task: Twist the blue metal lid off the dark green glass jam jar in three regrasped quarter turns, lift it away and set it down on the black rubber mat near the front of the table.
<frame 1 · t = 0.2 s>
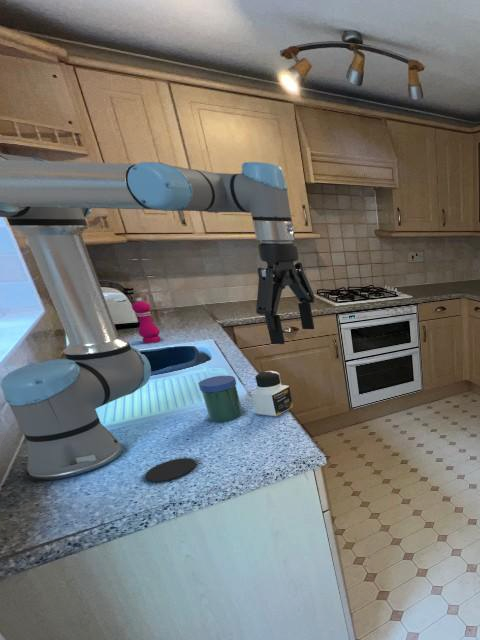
hand: (294, 335, 97), 28 cm above the kitchen counter, tool pointing down, fingers open, 13 cm apart
jam jar: (226, 415, 118), on the kitchen counter
jam lid: (217, 382, 114), point 11 cm above the kitchen counter, screwed on, not yet turned
pepper mill: (152, 341, 186), on the kitchen counter
rubber mat: (171, 470, 92), on the kitchen counter
medicine bottle: (275, 411, 121), on the kitchen counter
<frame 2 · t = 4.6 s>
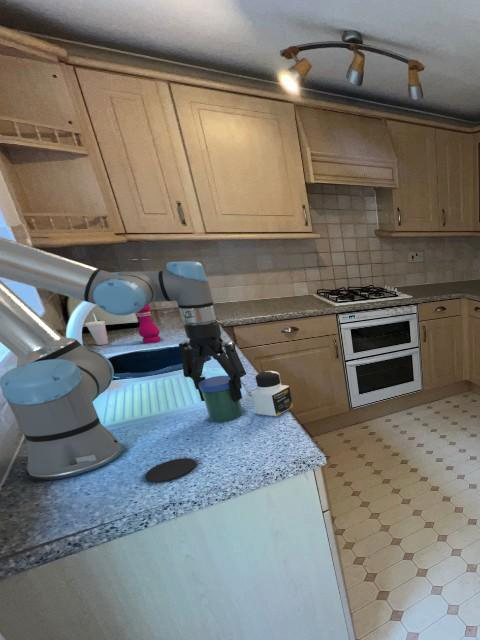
hand: (222, 399, 116), 5 cm above the kitchen counter, tool pointing down, fingers closed on jam lid, 8 cm apart
jam lid: (217, 382, 114), point 11 cm above the kitchen counter, screwed on, not yet turned, touching gripper
everything else where it was.
when the fingers open (5 cm above the kitchen counter, at t = 7.2 s): jam lid stays where it is, point 11 cm above the kitchen counter.
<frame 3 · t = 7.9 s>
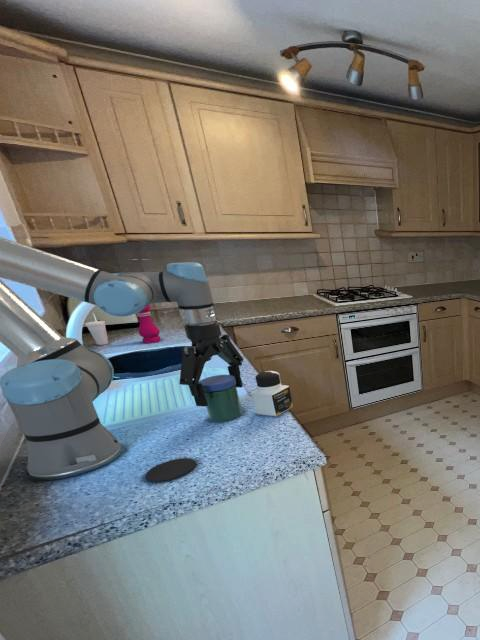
hand: (221, 395, 115), 6 cm above the kitchen counter, tool pointing down, fingers open, 13 cm apart
jam lid: (217, 381, 114), point 11 cm above the kitchen counter, turned 90° so far, risen 0.2 cm, still on its thread
everything else where it was.
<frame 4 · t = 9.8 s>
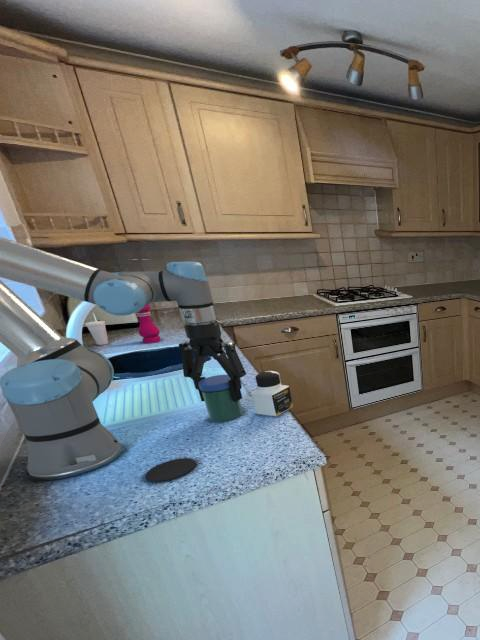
hand: (222, 399, 116), 5 cm above the kitchen counter, tool pointing down, fingers closed on jam lid, 8 cm apart
jam lid: (217, 381, 114), point 11 cm above the kitchen counter, turned 90° so far, risen 0.2 cm, still on its thread, touching gripper
everything else where it was.
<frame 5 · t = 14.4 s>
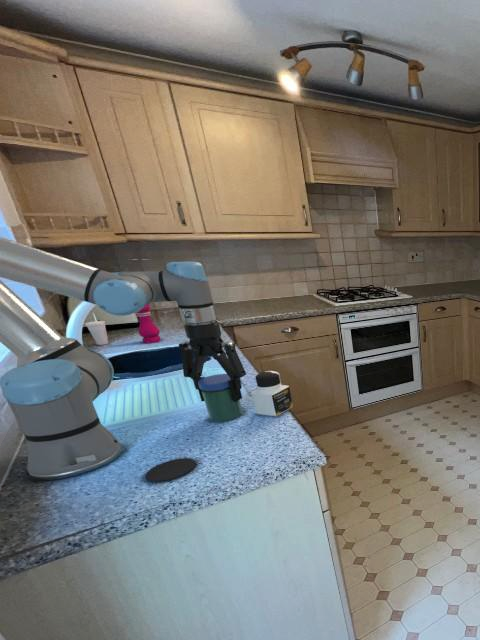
hand: (222, 399, 116), 5 cm above the kitchen counter, tool pointing down, fingers closed on jam lid, 8 cm apart
jam lid: (216, 380, 113), point 11 cm above the kitchen counter, turned 180° so far, risen 0.5 cm, still on its thread, touching gripper
everything else where it was.
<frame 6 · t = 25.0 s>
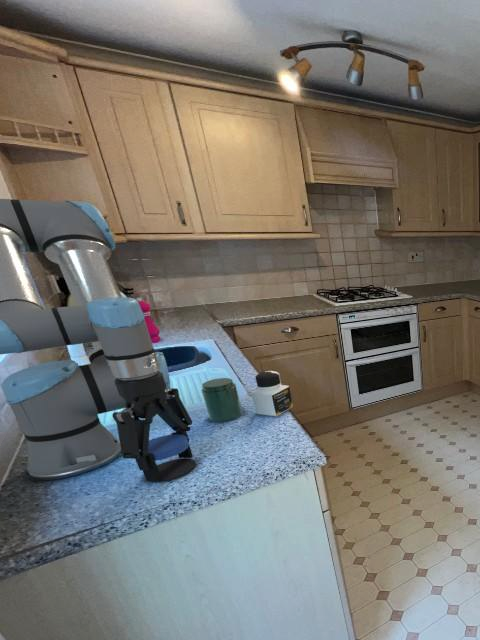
hand: (170, 468, 91), 1 cm above the kitchen counter, tool pointing down, fingers closed on jam lid, 8 cm apart
jam lid: (163, 445, 89), point 7 cm above the kitchen counter, off its thread, touching gripper
everything else where it was.
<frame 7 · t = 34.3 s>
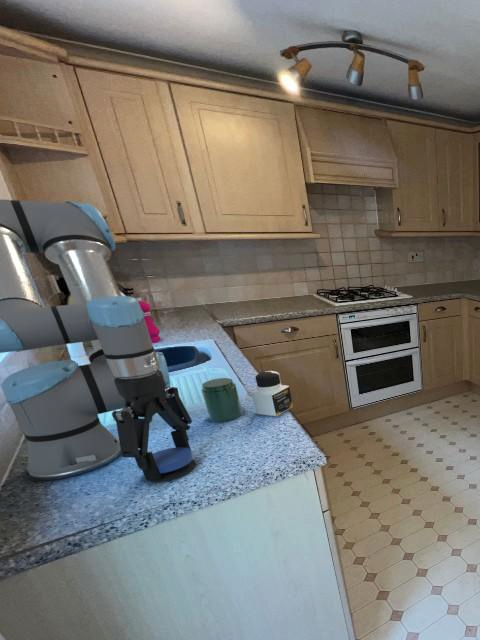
hand: (170, 466, 91), 1 cm above the kitchen counter, tool pointing down, fingers closed on jam lid, 8 cm apart
jam lid: (167, 458, 90), point 3 cm above the kitchen counter, off its thread, touching gripper
everything else where it was.
when the fingers open (2 cm above the kitchen counter, at t = 34.7 s): jam lid drops 3 cm, resting on rubber mat.
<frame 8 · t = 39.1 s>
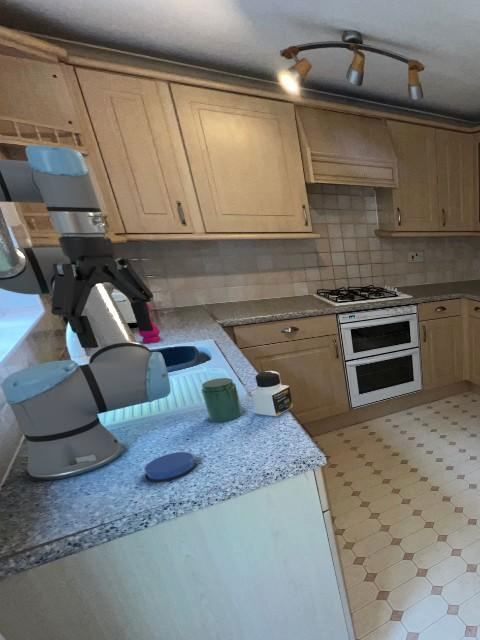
hand: (120, 338, 88), 29 cm above the kitchen counter, tool pointing down, fingers open, 13 cm apart
jam lid: (169, 463, 91), point 2 cm above the kitchen counter, off its thread, touching rubber mat
everything else where it was.
at the end: jam lid came off its thread; the gripper is holding nothing; jam lid inside the target area on the rubber mat (0.1 cm from its centre), point 1.9 cm above the rubber mat's base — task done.
